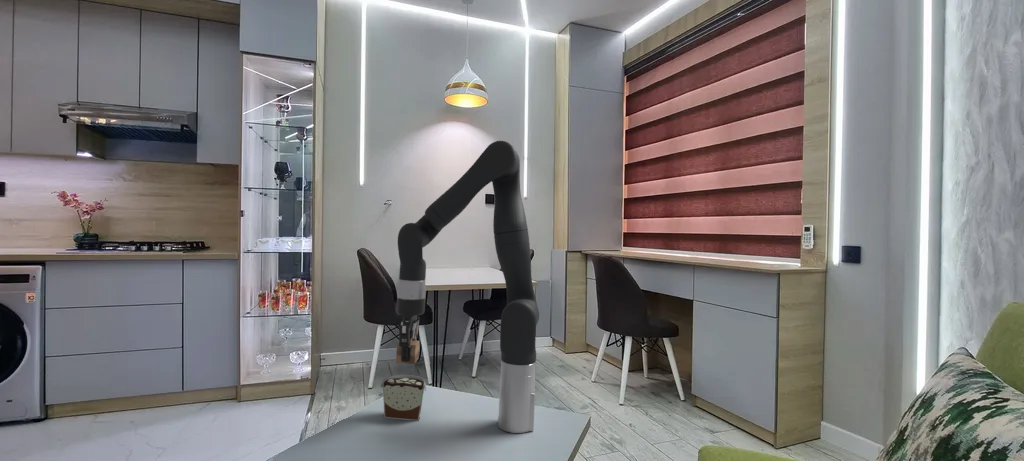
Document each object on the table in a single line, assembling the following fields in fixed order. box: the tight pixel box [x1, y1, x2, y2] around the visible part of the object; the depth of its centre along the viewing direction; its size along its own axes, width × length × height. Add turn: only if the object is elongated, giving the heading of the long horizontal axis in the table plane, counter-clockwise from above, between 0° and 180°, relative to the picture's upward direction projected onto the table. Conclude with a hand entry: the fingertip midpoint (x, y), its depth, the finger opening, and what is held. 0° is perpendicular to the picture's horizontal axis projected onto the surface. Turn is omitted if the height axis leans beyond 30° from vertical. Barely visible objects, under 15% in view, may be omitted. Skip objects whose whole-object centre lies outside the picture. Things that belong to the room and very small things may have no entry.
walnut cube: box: [395, 339, 420, 365], centre depth 123 cm, size 5×5×5 cm
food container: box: [380, 374, 427, 422], centre depth 122 cm, size 12×6×10 cm, turn 84°
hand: (407, 358), depth 123 cm, fingers closed on walnut cube, 5 cm apart
